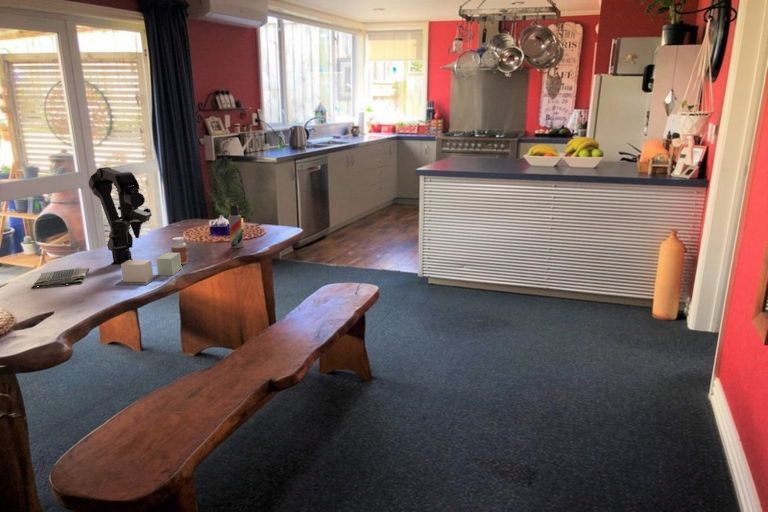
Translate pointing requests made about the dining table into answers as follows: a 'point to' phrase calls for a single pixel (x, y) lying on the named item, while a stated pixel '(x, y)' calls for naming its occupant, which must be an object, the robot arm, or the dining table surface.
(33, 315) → the dining table surface
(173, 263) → the pale green block
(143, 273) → the upright cream box
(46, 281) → the dish towel
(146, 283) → the slate mat
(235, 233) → the lotion bottle
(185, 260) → the pill bottle
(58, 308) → the dining table surface
